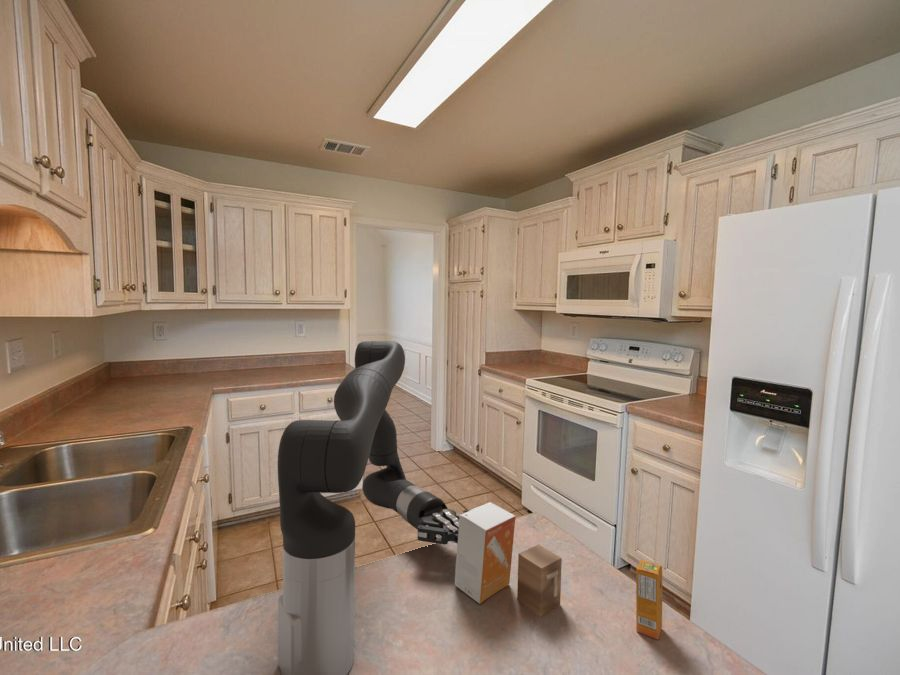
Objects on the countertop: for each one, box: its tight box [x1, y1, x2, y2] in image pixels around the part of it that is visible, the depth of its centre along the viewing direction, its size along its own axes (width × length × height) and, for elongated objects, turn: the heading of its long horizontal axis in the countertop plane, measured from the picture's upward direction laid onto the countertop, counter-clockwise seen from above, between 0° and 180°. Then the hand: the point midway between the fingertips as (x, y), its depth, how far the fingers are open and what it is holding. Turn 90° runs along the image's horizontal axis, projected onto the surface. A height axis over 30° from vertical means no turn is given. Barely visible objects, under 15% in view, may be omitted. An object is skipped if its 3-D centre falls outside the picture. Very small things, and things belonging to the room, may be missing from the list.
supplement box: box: [635, 559, 663, 640], centre depth 63 cm, size 3×3×10 cm
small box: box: [454, 501, 516, 605], centre depth 73 cm, size 8×6×13 cm
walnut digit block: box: [516, 544, 563, 618], centre depth 69 cm, size 5×5×8 cm
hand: (472, 543), depth 75 cm, fingers closed
